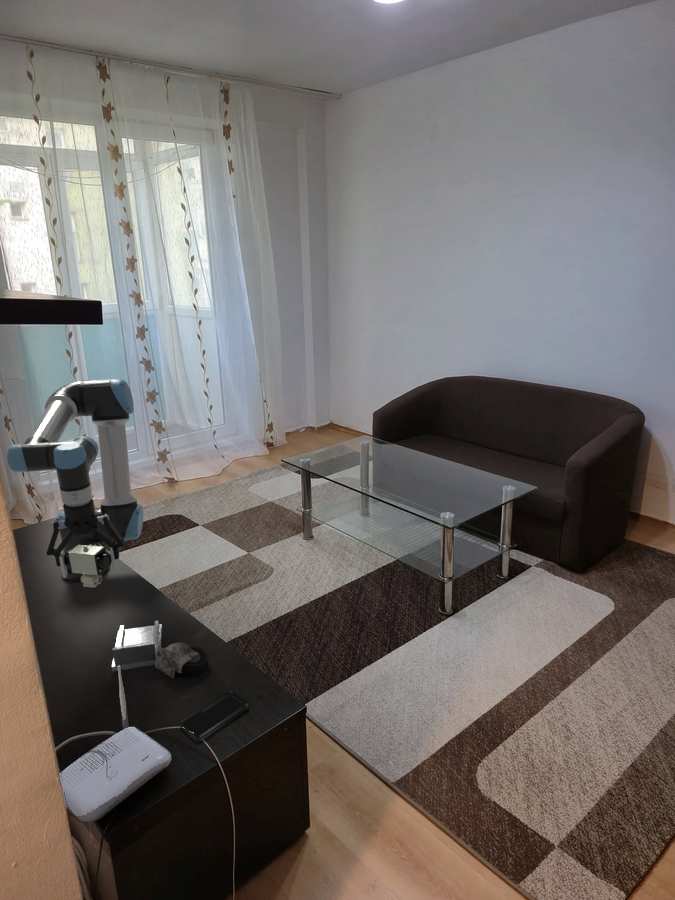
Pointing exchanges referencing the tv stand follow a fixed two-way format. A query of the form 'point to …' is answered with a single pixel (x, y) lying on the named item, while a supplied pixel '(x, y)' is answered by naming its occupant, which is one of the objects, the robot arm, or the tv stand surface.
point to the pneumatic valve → (88, 563)
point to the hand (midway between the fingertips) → (90, 572)
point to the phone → (214, 716)
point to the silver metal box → (137, 646)
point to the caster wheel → (180, 659)
